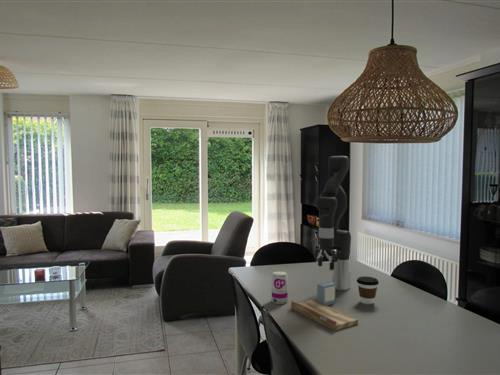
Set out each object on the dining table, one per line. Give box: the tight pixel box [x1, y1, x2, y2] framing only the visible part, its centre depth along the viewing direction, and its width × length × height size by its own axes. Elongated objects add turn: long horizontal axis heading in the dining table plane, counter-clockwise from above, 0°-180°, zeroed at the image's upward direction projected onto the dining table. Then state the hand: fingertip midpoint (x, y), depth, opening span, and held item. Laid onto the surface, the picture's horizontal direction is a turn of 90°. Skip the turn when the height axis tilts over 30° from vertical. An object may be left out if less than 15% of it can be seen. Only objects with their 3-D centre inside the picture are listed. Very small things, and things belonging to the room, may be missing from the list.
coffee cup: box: [356, 276, 380, 305], centre depth 202 cm, size 11×11×12 cm
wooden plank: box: [290, 299, 359, 332], centre depth 184 cm, size 14×30×4 cm, turn 32°
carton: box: [316, 281, 336, 306], centre depth 200 cm, size 8×5×10 cm, turn 122°
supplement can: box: [271, 270, 289, 305], centre depth 202 cm, size 8×8×15 cm
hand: (325, 267), depth 200 cm, fingers open, 8 cm apart
